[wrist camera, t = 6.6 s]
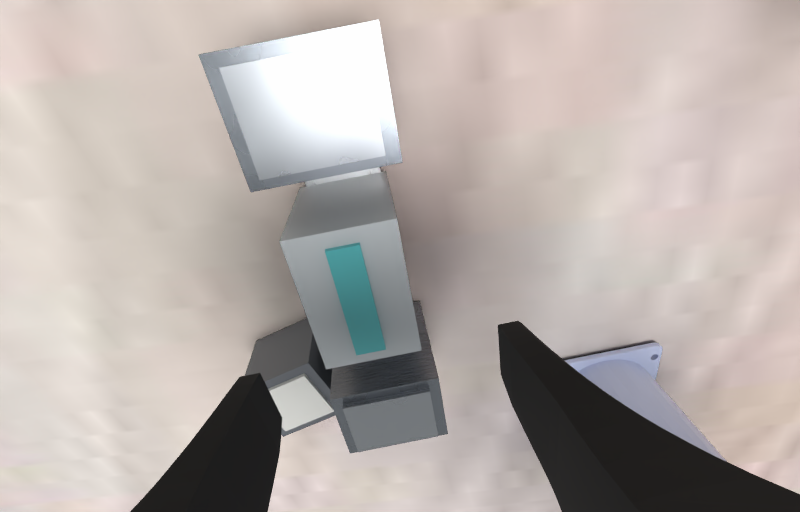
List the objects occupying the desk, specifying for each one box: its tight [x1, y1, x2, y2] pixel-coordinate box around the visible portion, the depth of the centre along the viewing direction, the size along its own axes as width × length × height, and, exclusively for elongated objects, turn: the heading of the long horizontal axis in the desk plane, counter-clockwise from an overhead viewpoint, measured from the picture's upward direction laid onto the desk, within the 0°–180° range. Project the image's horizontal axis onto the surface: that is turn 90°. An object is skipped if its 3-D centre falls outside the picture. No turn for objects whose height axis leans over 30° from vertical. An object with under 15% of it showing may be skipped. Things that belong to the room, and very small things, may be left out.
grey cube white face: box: [245, 318, 335, 437], centre depth 22 cm, size 4×4×4 cm
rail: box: [199, 20, 448, 453], centre depth 17 cm, size 18×5×6 cm, turn 10°
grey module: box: [279, 171, 422, 369], centre depth 17 cm, size 6×4×6 cm, turn 10°
